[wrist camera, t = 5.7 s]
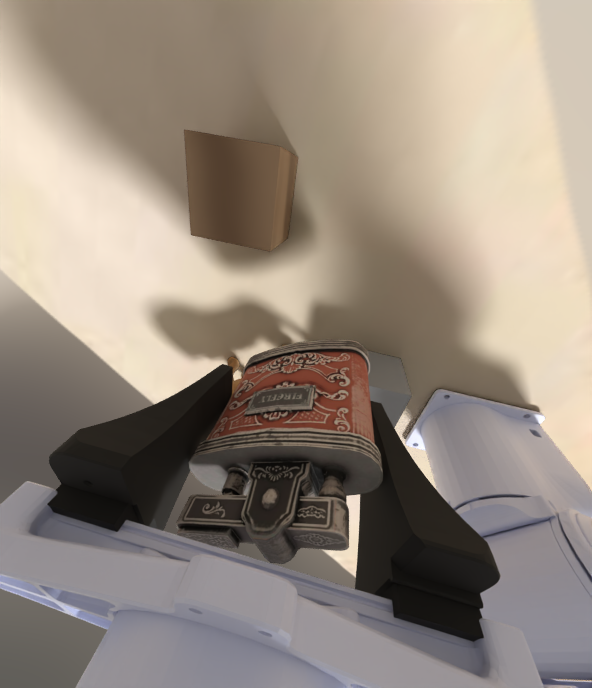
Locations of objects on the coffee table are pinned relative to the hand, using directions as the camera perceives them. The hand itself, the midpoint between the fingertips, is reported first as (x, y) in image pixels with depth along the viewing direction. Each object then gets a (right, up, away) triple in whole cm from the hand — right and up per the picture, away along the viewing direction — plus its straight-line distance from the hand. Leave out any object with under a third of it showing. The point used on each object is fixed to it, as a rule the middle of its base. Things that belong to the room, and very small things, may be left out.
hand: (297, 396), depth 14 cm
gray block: (+7, 0, +10) cm, 12 cm away
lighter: (+1, +2, +3) cm, 3 cm away
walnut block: (-3, +13, +4) cm, 14 cm away
